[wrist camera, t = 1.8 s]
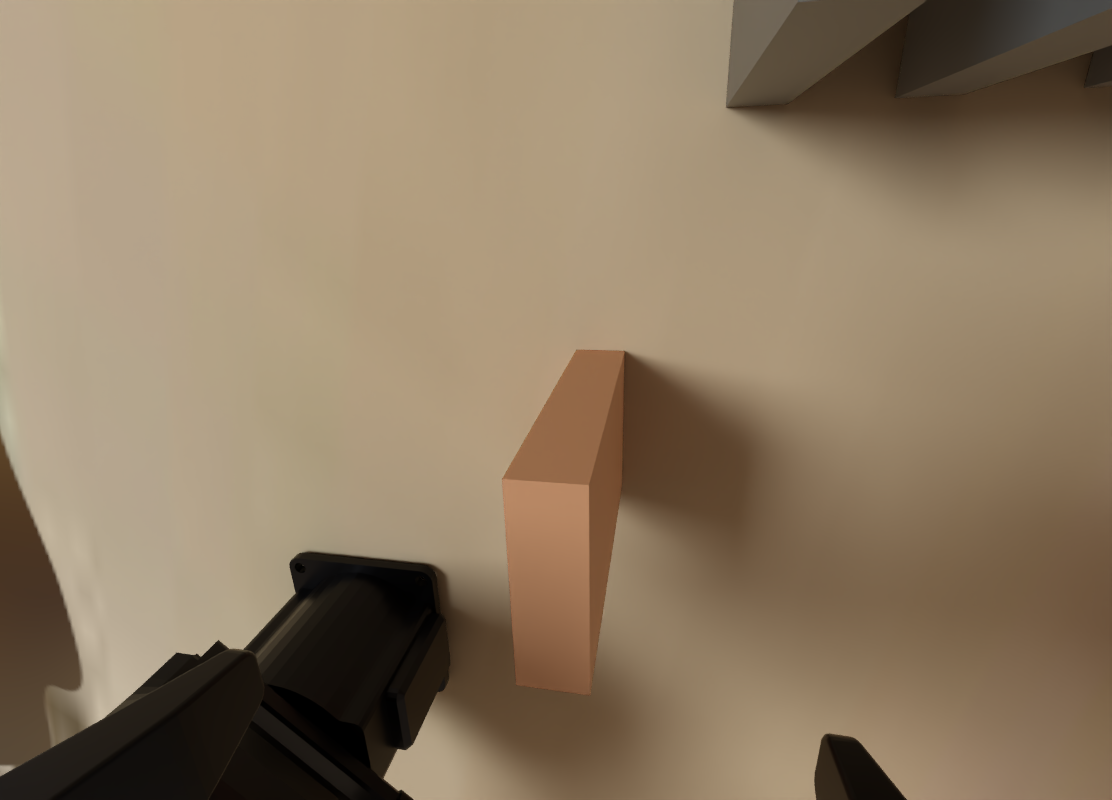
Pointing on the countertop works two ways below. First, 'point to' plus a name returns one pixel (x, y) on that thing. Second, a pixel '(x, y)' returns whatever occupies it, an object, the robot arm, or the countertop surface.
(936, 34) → the domino
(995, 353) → the countertop surface
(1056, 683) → the countertop surface
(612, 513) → the domino
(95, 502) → the countertop surface
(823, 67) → the domino
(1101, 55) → the domino
